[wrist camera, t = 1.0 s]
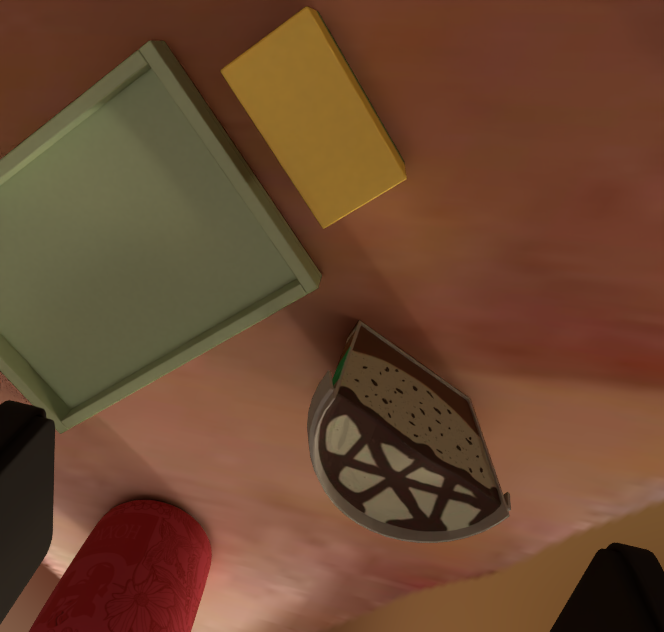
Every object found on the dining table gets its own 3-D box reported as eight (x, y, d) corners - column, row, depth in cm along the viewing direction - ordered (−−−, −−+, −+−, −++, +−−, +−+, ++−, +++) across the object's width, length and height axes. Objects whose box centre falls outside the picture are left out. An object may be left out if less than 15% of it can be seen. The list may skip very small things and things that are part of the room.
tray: (164, 40, 31) (149, 39, 29) (322, 275, 36) (318, 288, 34) (-90, 240, 37) (-115, 250, 35) (74, 417, 42) (60, 434, 40)
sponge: (317, 10, 30) (307, 5, 26) (405, 162, 33) (407, 179, 29) (240, 67, 31) (218, 70, 27) (330, 208, 34) (322, 229, 30)
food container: (286, 371, 39) (255, 470, 30) (340, 306, 37) (324, 392, 28) (427, 466, 41) (438, 584, 32) (487, 410, 39) (517, 521, 30)
